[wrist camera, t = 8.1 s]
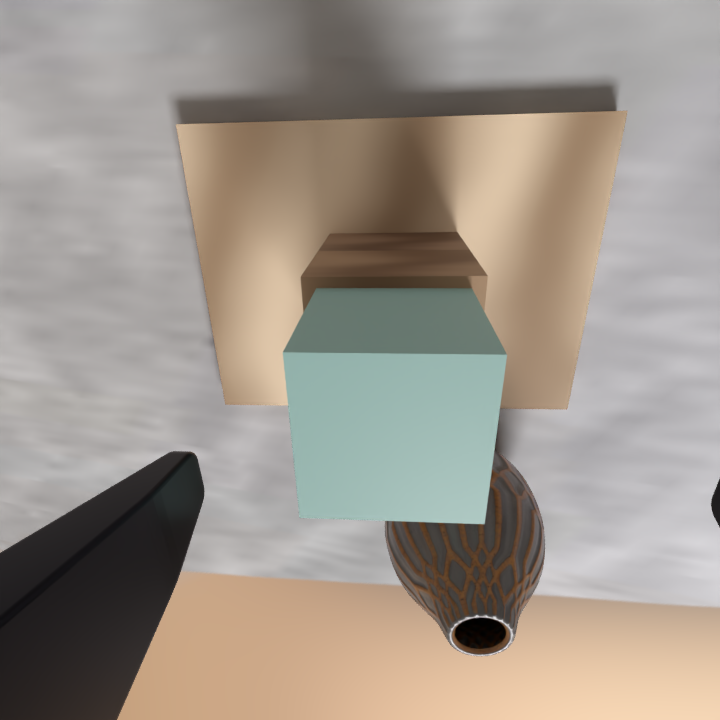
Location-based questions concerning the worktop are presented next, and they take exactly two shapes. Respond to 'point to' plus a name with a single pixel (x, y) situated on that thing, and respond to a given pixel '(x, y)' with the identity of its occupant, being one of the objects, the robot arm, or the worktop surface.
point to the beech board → (403, 226)
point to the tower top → (394, 271)
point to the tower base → (394, 241)
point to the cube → (394, 404)
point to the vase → (475, 565)
